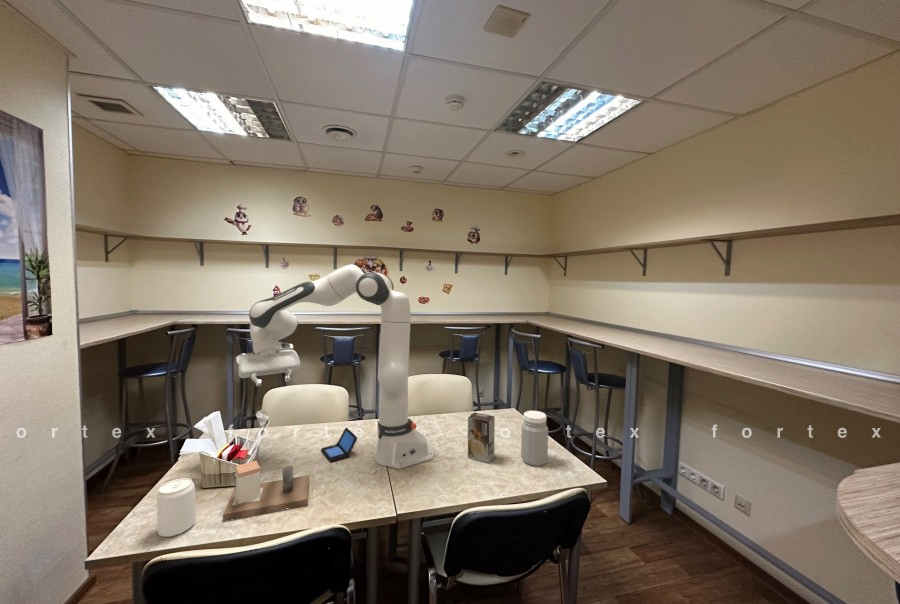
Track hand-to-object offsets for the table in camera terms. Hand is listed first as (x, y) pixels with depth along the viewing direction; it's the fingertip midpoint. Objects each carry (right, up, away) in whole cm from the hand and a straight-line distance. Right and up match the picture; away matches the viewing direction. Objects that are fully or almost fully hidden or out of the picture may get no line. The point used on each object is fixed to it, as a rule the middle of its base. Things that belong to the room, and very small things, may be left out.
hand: (273, 382), depth 125 cm
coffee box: (+75, -32, +11) cm, 82 cm away
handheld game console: (+19, -31, +14) cm, 39 cm away
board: (+7, -32, -16) cm, 37 cm away
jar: (+95, -32, +9) cm, 100 cm away
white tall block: (+2, -30, -19) cm, 35 cm away
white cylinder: (-11, -33, -30) cm, 46 cm away
